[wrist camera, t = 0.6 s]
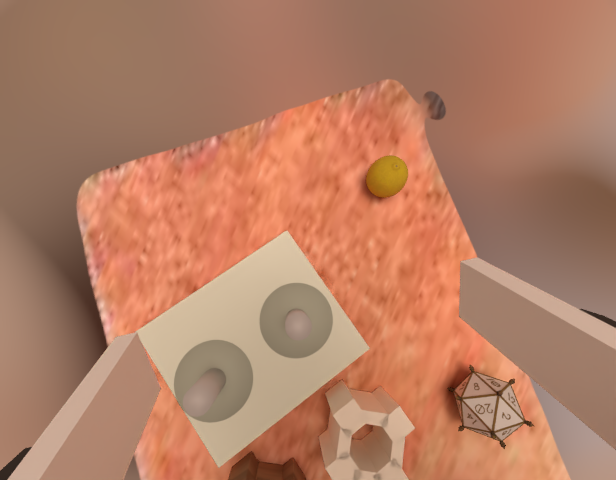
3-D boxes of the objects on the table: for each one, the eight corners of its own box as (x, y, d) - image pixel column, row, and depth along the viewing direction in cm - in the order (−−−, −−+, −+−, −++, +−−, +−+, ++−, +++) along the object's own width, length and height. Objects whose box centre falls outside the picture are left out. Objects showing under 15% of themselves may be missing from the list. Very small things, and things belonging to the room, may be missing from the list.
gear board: (365, 345, 41) (387, 361, 32) (222, 458, 37) (202, 511, 28) (287, 232, 43) (287, 218, 34) (142, 329, 39) (100, 342, 30)
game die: (448, 398, 44) (453, 459, 35) (443, 350, 42) (447, 402, 34) (518, 407, 41) (543, 478, 32) (516, 354, 39) (542, 415, 30)
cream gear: (409, 428, 40) (435, 457, 33) (348, 481, 38) (361, 525, 31) (363, 361, 41) (379, 377, 34) (301, 411, 39) (305, 437, 32)
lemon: (353, 184, 45) (367, 163, 37) (378, 163, 46) (397, 138, 38) (377, 210, 45) (396, 194, 37) (401, 189, 45) (425, 168, 38)
